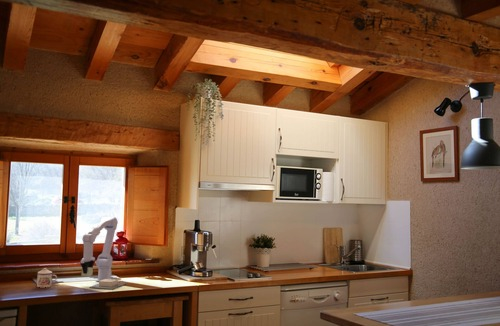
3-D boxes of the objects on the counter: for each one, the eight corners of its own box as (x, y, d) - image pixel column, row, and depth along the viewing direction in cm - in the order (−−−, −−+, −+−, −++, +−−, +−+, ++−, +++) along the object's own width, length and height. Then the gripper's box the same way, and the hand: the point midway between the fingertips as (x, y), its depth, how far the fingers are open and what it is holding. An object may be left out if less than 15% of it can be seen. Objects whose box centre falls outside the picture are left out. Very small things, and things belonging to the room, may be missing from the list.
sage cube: (85, 274, 329) (85, 267, 329) (92, 275, 328) (92, 267, 328) (81, 275, 324) (81, 268, 324) (88, 276, 323) (88, 268, 323)
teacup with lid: (36, 288, 313) (37, 269, 314) (36, 285, 322) (37, 267, 322) (56, 287, 317) (57, 269, 318) (56, 284, 326) (57, 266, 327)
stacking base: (104, 282, 337) (104, 277, 338) (126, 284, 334) (126, 278, 334) (89, 288, 318) (89, 282, 318) (112, 289, 315) (112, 283, 315)
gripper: (88, 250, 335) (87, 270, 334) (76, 253, 321) (75, 274, 320) (98, 251, 333) (97, 271, 333) (86, 253, 319) (85, 274, 318)
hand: (87, 272), depth 326 cm, fingers closed on sage cube, 5 cm apart
